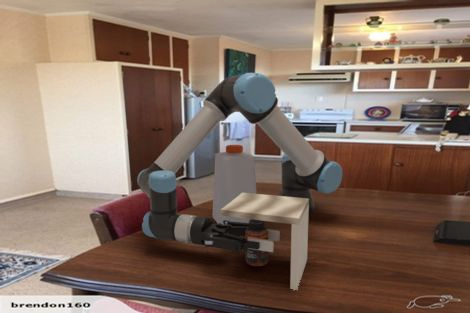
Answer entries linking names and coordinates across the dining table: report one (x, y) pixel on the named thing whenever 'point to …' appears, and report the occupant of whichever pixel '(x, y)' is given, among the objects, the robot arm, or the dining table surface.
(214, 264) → the dining table surface
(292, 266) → the cream l-shaped stand
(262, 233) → the supplement bottle
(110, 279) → the dining table surface
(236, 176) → the plastic bottle
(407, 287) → the dining table surface
